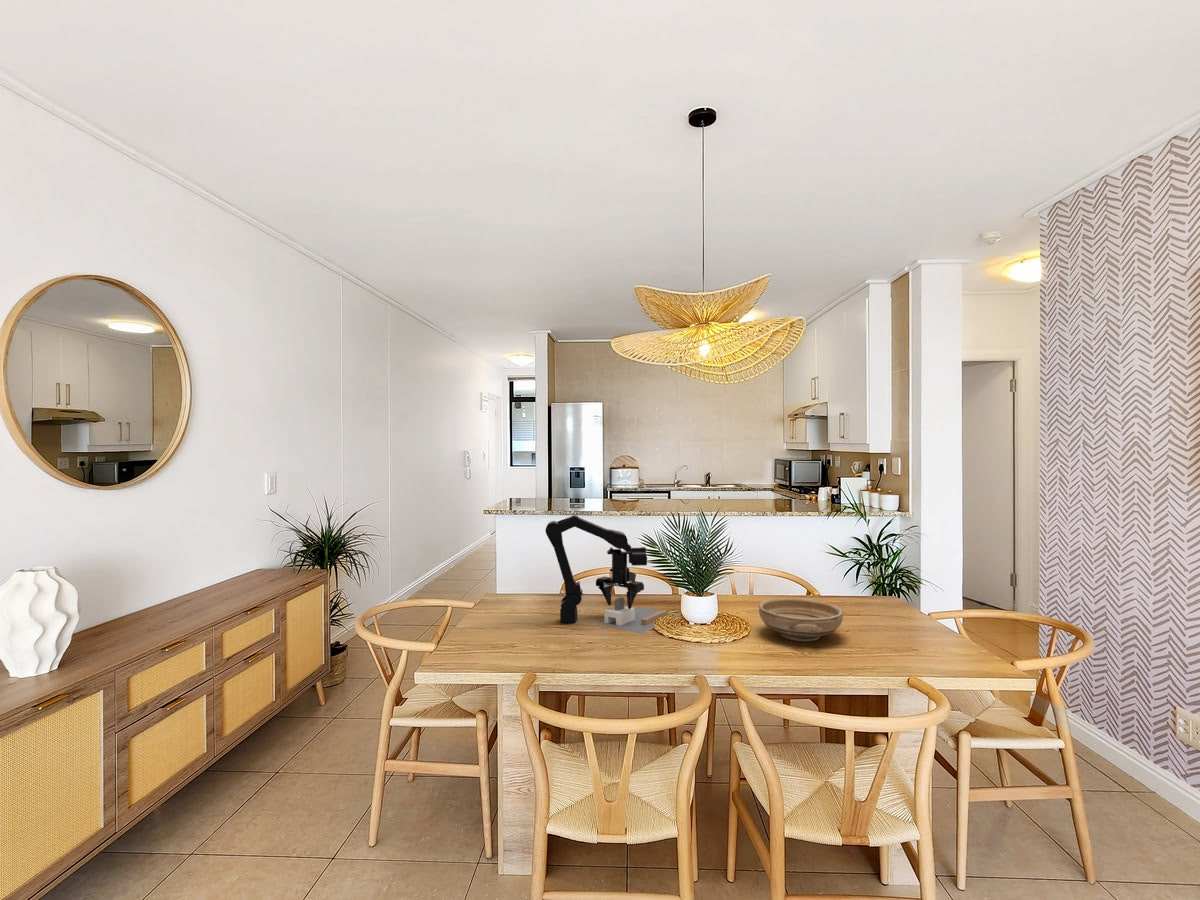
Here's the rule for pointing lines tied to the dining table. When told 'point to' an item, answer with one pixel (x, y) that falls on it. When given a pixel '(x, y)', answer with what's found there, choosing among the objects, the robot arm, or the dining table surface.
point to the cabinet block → (619, 613)
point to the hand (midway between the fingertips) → (619, 606)
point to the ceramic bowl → (800, 617)
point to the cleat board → (637, 621)
